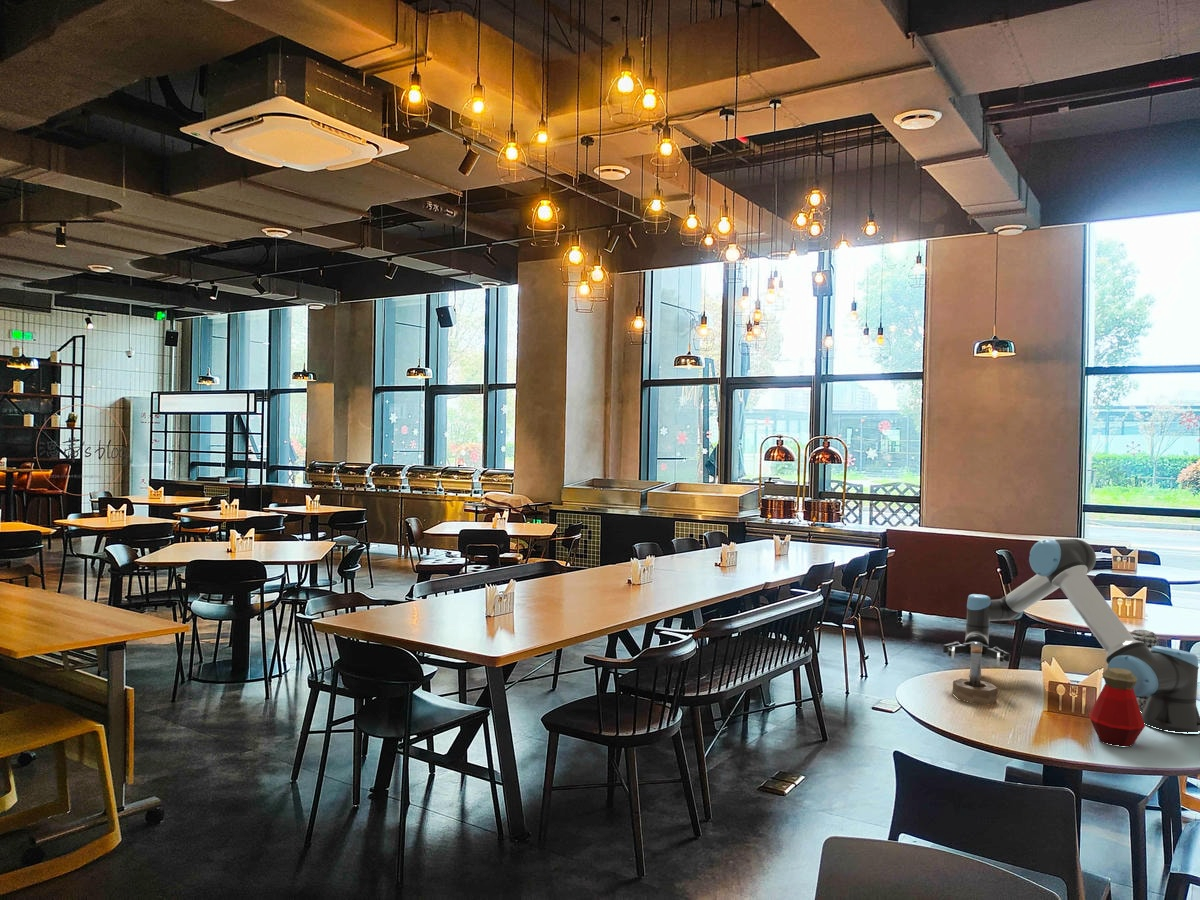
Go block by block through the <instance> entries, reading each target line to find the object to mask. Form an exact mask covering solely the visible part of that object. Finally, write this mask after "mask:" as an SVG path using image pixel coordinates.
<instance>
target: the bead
mask: <svg viewBox="0 0 1200 900" xmlns="http://www.w3.org/2000/svg"><path fill="white" fill-rule="evenodd" d="M969 683H970V678H958V679H956V680H953V681H952V695H953V694H954V695H955V696H956V697H957V698H958V699H961V700H965V701H968V702H971V703H970V704H972V703H976V704H975V705H985V704H990V705H992V703H993V704H995V703H997V701H998V698H997V697H998V687H997V686H995V685H994V684H993V683H991V682H987V681H983V680H981V682H980V688H979V687H972V686H969ZM957 698H956V699H957ZM958 699H957V700H958ZM961 700H960V701H961ZM965 701H964V702H965ZM968 702H967V703H968ZM994 702H995V703H994Z"/></svg>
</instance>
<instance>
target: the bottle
mask: <svg viewBox="0 0 1200 900" xmlns="http://www.w3.org/2000/svg"><path fill="white" fill-rule="evenodd" d="M1102 677H1103V680H1104V683H1105V684H1104V686H1103V687H1102V690H1101V691H1100V693H1099V695H1098V696H1097V699H1096V701H1095V702H1094V704H1093V706H1092V708H1091V710H1090V711H1089V714H1088V716H1089V720H1090V722H1091V724H1092V726H1093V729H1094V731H1095V733H1096V735H1097V737H1098V740H1099V741H1100V742H1101V741H1102V742H1101V743H1103V742H1104V743H1103V744H1105V743H1108V744H1112V745H1119V746H1130V745H1132V744H1133V745H1134V744H1135V742H1136V741H1137V739H1138V737H1139V736H1140V735H1141V734H1142V732H1143V730H1144V729H1145V726H1146V725H1145V724H1144V722H1143V718H1142V715H1141V712H1140V709H1139V706H1138V702H1137V699H1136V696H1135V693H1134V690H1133V688H1134V686H1135V684H1136V682H1137V678H1136V677H1135V676H1134V675H1133V673H1132V672H1131V671H1129V670H1126V669H1122V668H1109V669H1108V668H1107V669H1106V670H1105V671H1104V672H1102ZM1108 744H1107V745H1108ZM1112 745H1111V746H1112ZM1133 745H1132V746H1133ZM1130 747H1131V746H1130Z"/></svg>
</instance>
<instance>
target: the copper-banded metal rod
mask: <svg viewBox="0 0 1200 900" xmlns="http://www.w3.org/2000/svg"><path fill="white" fill-rule="evenodd" d="M982 658H983V656H982V643H981V642H971V655H970V662H969V664H970V666H969V667H970V669H969V679H970V683H969V686H972V687H979V688H980V682H981V681H982V680H981V678H982V677H981V676H982Z"/></svg>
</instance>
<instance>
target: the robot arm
mask: <svg viewBox="0 0 1200 900" xmlns="http://www.w3.org/2000/svg"><path fill="white" fill-rule="evenodd" d="M1096 561H1097V555H1096V552H1095V550H1094V548H1093V547H1092V546H1091V545H1090V544H1089V543H1088V542H1086V541H1085V540H1082V539H1079V538H1068V539H1066V538H1064V539H1062V538H1059V539H1056V538H1055V539H1054V538H1047V539H1042V540H1039V541H1037V542H1036V543H1034V544H1033V546H1031V549H1030V551H1029V557H1028V562H1029V565H1030V568H1031V570H1032V572H1034V573H1035V575H1034V576H1033V577H1031V578H1029V579H1028V580H1027V581H1025V582H1023V583H1021V585H1019V586H1017V587H1016V588H1015V589H1013V590H1012V591H1010V592H1009V593H1008V594H1006V595H1005V596H1002V598H999V599H991V597H990V596H989V595H985V594H980V593H979V594H977V593H972V594H969V595H968V597H967V602H966V624H965V638H964V642H963V643H962V644H961V643H960V642H959V640H956V641H955V640H954V641H953V642H950V643H946V644H943V645H942V653H944V654H947V653H948V654H947V655H948V657H951V660H954V659H955V655H956V654H965V655H969V656H971V642H981V643H982V657H989V658H992V659H995V660H996V665H997V666H999V667H1000V664H1001V663H1000V662H1004V661H1005V662H1010V653H1009V652H1007V651H1005V650H1003V649H1001V648H999V647H998V646H997V645H995V646H994V647H992V648H990V646H989V640H990V639H989V638H990V634H989V633H990V622H993V621H994V622H996V621H1014V620H1019V619H1021V618H1022V617H1023V615H1024V611H1025V610H1027V609H1029V608H1030V607H1033V605H1035V604H1036V603H1038V602H1040V601H1041V600H1043V599H1044V598H1046V597H1047V596H1049V595H1050V594H1052V593H1053V592H1055V591H1057V590H1058V589H1061V591H1062V592H1063V594H1064V595H1065V597H1066V598H1067V599H1068V601H1069V602H1070V604H1071V605H1072V606H1073V608H1074V609H1075V610H1076V612H1077V614H1078V615H1079V616H1080V618H1081V619H1082V620H1083V622H1084V623H1085V625H1086V626H1087V627H1088V629H1089V630H1090V631H1091V633H1092V635H1093V636H1094V637H1095V638H1096V640H1097V642H1098V643H1099V644H1100V645H1101V647H1102V649H1104V651H1105V652H1106V657H1105V662H1106V663H1107V670H1108V669H1109V668H1122V669H1126V670H1129V671H1131V672H1132V673H1133V675H1134V676H1135V677H1136V678H1137V682H1136V684H1135V686H1134V688H1133V690H1134V693H1135V696H1139V697H1146V696H1149V697H1148V700H1147V702H1146V704H1145V706H1144V708H1143V711H1142V713H1141V715H1142V718H1143V722H1144V723H1145V724H1147V725H1150V726H1153V727H1156V728H1159V729H1162V730H1168V731H1175V732H1187V733H1188V732H1198V731H1200V714H1199V712H1200V711H1199V710H1198V707H1197V697H1198V696H1197V695H1198V694H1197V693H1198V678H1199V677H1198V675H1199V674H1198V673H1199V668H1200V667H1199V658H1198V656H1197V655H1196V654H1194V653H1192V652H1189V651H1186V650H1181V649H1177V648H1174V647H1173V648H1172V647H1168V646H1167V647H1166V646H1161V645H1157V646H1152V648H1151V650H1149V649H1148V647H1147V646H1146V645H1145V644H1144V642H1142V641H1138V640H1135V639H1134V638H1133V637H1132V635H1131V634H1130V633H1131V632H1130V631H1129V630H1128V628H1127V627H1126V626H1125V624H1124V623H1123V622H1122V620H1121V619H1120V617H1118V615H1117V614H1116V612H1115V611H1114V610H1113V609H1112V607H1111V606H1110V604H1109V603H1108V602H1107V600H1106V599H1105V598H1104V597H1103V595H1102V594H1101V593H1100V591H1099V590H1098V589H1097V587H1096V585H1094V583H1093V582H1092V580H1091V579H1090V577H1089V576H1088V575H1087V574H1089V573H1090V572H1092V570H1093V569H1094V567H1095V565H1096ZM1145 724H1144V725H1145ZM1147 725H1146V726H1147Z"/></svg>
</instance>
